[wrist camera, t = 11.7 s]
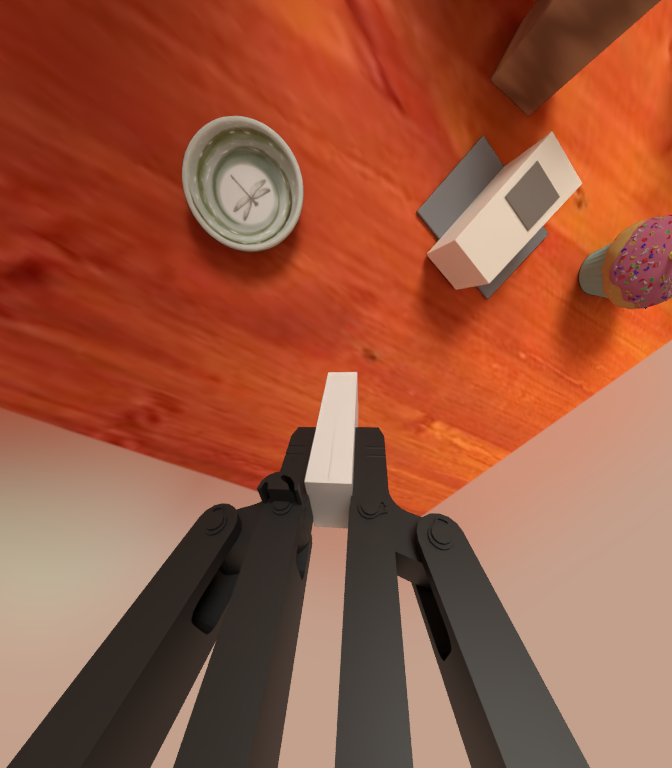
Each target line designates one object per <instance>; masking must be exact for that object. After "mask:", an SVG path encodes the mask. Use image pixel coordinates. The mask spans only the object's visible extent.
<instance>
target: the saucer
mask: <svg viewBox="0 0 672 768" xmlns="http://www.w3.org/2000/svg"><path fill="white" fill-rule="evenodd" d="M182 182H183V189H184V193H185V197H186V200H187V203H188V205H189V207H190V209H191V211H192V213H193V215H194V217H195V218H196V220H197V221H198V222H199V224H200V225H201V226H202V227H203V229H204V230H205V231H206V232H207V233H208V234H209V235H211V236H212V237H213V238H214V239H216V240H217V241H219V242H220V243H222V244H224V245H226V246H228V247H230V248H233V249H236V250H240V251H246V252H258V251H263V250H267V249H270V248H272V247H274V246H276V245H278V244H280V243H281V242H282V241H283V240H285V239H286V238H287V237H288V236H289V234H290V233H291V232H292V231H293V229H294V227H295V226H296V224H297V222H298V220H299V217H300V214H301V210H302V205H303V196H304V190H303V181H302V176H301V172H300V168H299V165H298V163H297V161H296V158H295V156H294V155H293V153H292V151H291V150H290V148H289V147H288V145H287V144H286V143H285V141H284V140H283V139H282V138H281V137H280V136H279V135H278V134H277V133H276V132H275V131H273V130H272V129H271V128H269V127H268V126H266V125H265V124H263V123H261V122H259V121H257V120H254V119H251V118H247V117H242V116H226V117H222V118H218V119H215V120H213V121H211V122H209V123H208V124H206V125H205V126H203V127H202V128H201V129H200V130H199V131H198V132H197V133H196V134H195V135H194V137H193V138H192V140H191V141H190V143H189V145H188V147H187V149H186V152H185V155H184V160H183V166H182Z"/></svg>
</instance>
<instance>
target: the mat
mask: <svg viewBox="0 0 672 768" xmlns="http://www.w3.org/2000/svg"><path fill="white" fill-rule="evenodd" d="M503 167H504V165H503V164H502V162H501V161H500V159H499V158H498V156H497V155H496V153H495V152H494V150H493V149H492V147H491V146H490V144H489V143H488V141H487V140H486V138H485V136H484V135H483V136H482V137H481V138H480V139H479V141H478V142H477V143H476V144H475V145H474V146H473V148H472V149H471V150H470V151H469V152H468V153H467V154H466V156H465V157H464V158H463V159H462V160H461V161H460V162H459V164H458V165H457V166H456V167H455V168H454V169H453V171H452V172H451V173H450V174H449V175H448V176H447V177H446V179H445V180H444V181H443V182H442V183H441V184H440V186H439V187H438V188H437V189H436V190H435V191H434V192H433V194H432V195H431V196H430V197H429V198H428V199H427V201H426V202H425V203H424V204H423V205H422V206H421V207H420V209H419V210H418V211H417V214H418V215H419V216H420V217H421V219H422V220H423V221H424V222H425V223H426V225H427V226H428V227H429V228H430V230H431V231H432V232H433V233H434V235H435V236H436V237H437V238H438V240H439V239H440V238H441V237H442V236H443V235H444V234H445V233H446V232H447V230H448V229H449V228H450V227H451V226H452V225H453V224H454V222H455V221H456V220H457V219H458V218H459V217H460V216H461V215H462V213H463V212H464V211H465V210H466V209H467V208H468V207H469V206H470V204H471V203H472V202H473V201H474V200H475V199H476V198H477V197H478V195H479V194H480V193H481V192H482V191H483V190H484V189H485V188H486V186H487V185H488V184H489V183H490V182H491V181H492V180H493V179H494V177H495V176H496V175H497V174H498V173H499V172H500V171H501V170H502V168H503ZM547 235H548V233H547V231H546V229H545V228H544V226H542V227H541V228H540V229H539V230H538V232H537V233H536V234H535V235H534V236H533V237H532V238H531V239H530V240H529V241H528V242H527V243H526V245H525V246H524V247H523V248H522V249H521V250H520V251H519V252H518V253H517V254H516V255H515V256H514V257H513V259H512V260H511V261H510V262H509V263H508V264H507V265H506V266H505V267H504V268H503V269H502V270H501V272H500V273H499V274H498V275H497V276H496V277H495V278H494V279H493V280H492V281H491V282H490V283H489V284H485V285H479V286H476V287H477V288H478V289H479V290H480V292H481V293H482V294H483V295H484V297H485V298H486V299H488V298H489V297H490V296H491V295H492V294H493V293H494V292H495V291H496V290H497V289H498V288H499V287H500V286H501V285H502V283H503V282H504V281H505V280H506V279H507V278H508V277H509V276H510V275H511V274H512V273H513V272H514V271H515V269H516V268H517V267H518V266H519V265H520V264H521V263H522V262H523V261H524V260H525V259H526V258H527V257H528V256H529V254H530V253H531V252H532V251H533V250H534V249H535V248H536V247H537V246H538V245H539V244H540V243H541V242H542V241H543V239H544V238H545V237H546V236H547Z"/></svg>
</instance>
